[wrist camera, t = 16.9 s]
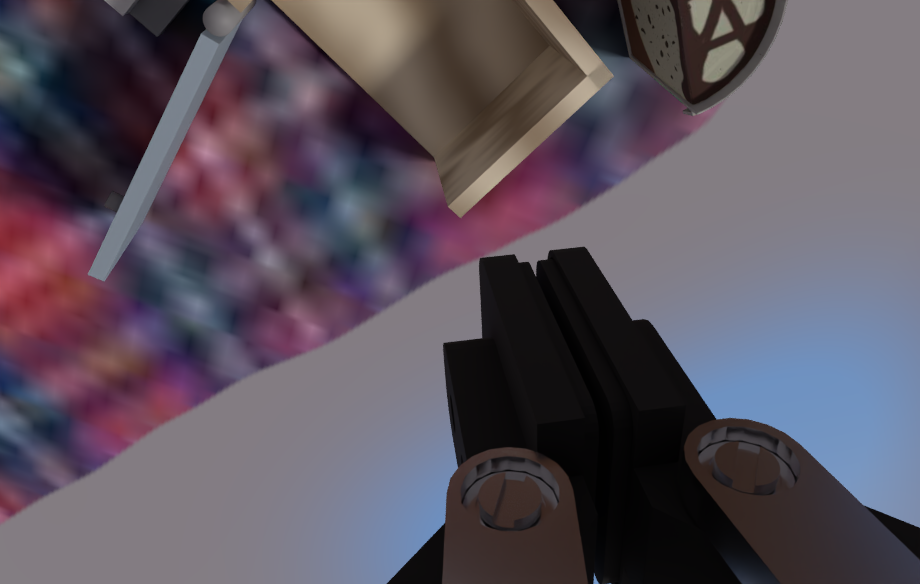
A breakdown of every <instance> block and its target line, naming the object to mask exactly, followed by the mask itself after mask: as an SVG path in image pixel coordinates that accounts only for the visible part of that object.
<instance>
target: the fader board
mask: <svg viewBox="0 0 920 584" xmlns="http://www.w3.org/2000/svg"><path fill="white" fill-rule="evenodd" d="M104 1H105V2H107V3H108V4H109V5H110V6H111V7H112V8H114V9H115V10H116V11H117V12H118V13H119V14H121V15H122V16H124V15H126V14H128V13H130V14H131V15H132V16H133V17H134V18H136V19H137V20H138V21H139V22H140V23H141V24H143V25H144V26H145V27H146V28H147V29H148V30H150V31H151V32H152V33H153V34H154V35H155V36H156V37H158V36H159V35H161V34H162V33H163V32H164V31H165V30H166V28H167V27H168V26H169V25H170V24H171V22H172V21H173V20H174V19H175V17H176V16H177V15H178V14H179V13H180V11H181V10H182V9H183V8H184V7H185V5H186V4H187V3H188V2H189V1H190V0H104Z"/></svg>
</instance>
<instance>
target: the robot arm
mask: <svg viewBox="0 0 920 584" xmlns="http://www.w3.org/2000/svg"><path fill="white" fill-rule="evenodd" d="M479 275H480V295H481V317H482V338H481V339H473V340H466V341H457V342H448V343H444V345H443V352H444V365H445V377H446V389H447V398H448V407H449V414H450V422H451V429H452V436H453V442H454V447H455V453H456V459H457V464H458V469H457V470H456V472H455V473H454V474H453V476H452V477H451V479H450V482H449V486H448V490H447V499H446V518H445V519H446V520H445V524H444V525H443V526H442V527H441V528H440V529H439V530H438V531H437V532H436V533H435V534H434V535H433V536H432V537H431V538H430V539H429V540H428V541H427V542H426V543H425V544H424V545H423V546H422V547H421V549H420V550H419V551H418V552H417V553H416V554H415V555H414V556H413V557H412V558H411V559H410V560H409V561H408V562H407V563H406V564H405V565H404V566H403V567H402V568H401V569H400V570H399V571H398V573H397V574H396V575H395V576H394V577H393V578H392V579H391V580H390V581H389V582H388V583H387V584H593V581H594V574H595V576H596V579H597V581H598V582H599V584H609V583H611V584H920V528H919V527H916V526H914V525H911V524H909V523H906V522H904V521H901V520H899V519H896V518H894V517H891V516H889V515H886V514H884V513H881V512H879V511H876V510H874V509H871V508H869V507H866V506H864V505H862V504H861V503H860V502H859V501H858V500H857V499H856V498H855V497H854V496H853V495H852V494H851V493H850V492H849V491H848V490H847V489H846V488H845V487H844V486H843V485H842V484H841V483H840V482H839V481H838V480H837V479H835V477H833V476H832V475H831V474H830V473H829V472H828V471H827V470H826V469H825V468H824V467H823V466H822V465H821V464H820V463H819V462H818V461H817V460H816V459H815V458H814V457H813V456H812V455H811V454H810V453H808V451H807V450H806V449H804V448H803V447H802V446H801V445H800V444H799V443H798V442H796V441H795V440H794V439H792V438H791V437H790V436H788V435H787V434H786V433H784V432H782V431H779V430H778V429H775V428H773V427H771V426H769V425H767V424H763V423H759V422H756V421H752V420H748V419H736V418H726V419H716V418H715V416H714V415H713V413H712V412H711V410H710V409H709V408H708V406H707V405H706V404H705V402H704V401H703V399H702V397H701V396H700V394H699V393H698V391H697V390H696V389H695V387H694V385H693V384H692V382H691V381H690V379H689V378H688V377H687V375H686V374H685V372H684V371H683V369H682V368H681V366H680V365H679V363H678V362H677V360H676V359H675V357H674V356H673V354H672V353H671V351H670V350H669V349H668V347H667V346H666V344H665V343H664V341H663V340H662V338H661V337H660V335H659V334H658V332H657V331H656V329H655V328H654V327H653V325H652V324H651V323H650V322H649V321H648V320H644V319H642V320H633V321H632V319H631V318H630V316H629V314H628V313H627V311H626V310H625V308H624V307H623V305H622V303H621V302H620V300H619V299H618V297H617V296H616V294H615V293H614V291H613V289H612V288H611V286H610V285H609V283H608V281H607V280H606V278H605V277H604V275H603V274H602V272H601V270H600V269H599V267H598V266H597V264H596V263H595V261H594V259H593V258H592V256H591V255H590V253H589V252H588V250H587V249H586V248H585V247H577V248H568V249H560V250H550V251H549V254H548V260H541V261H538V262H537V269H536V276H535V274H534V272H533V270H532V267H531V265H530V263H529V262H522V263H518V260H517V258H516V256H515V255H514V254H513V255H504V256H495V257H485V258H480V261H479Z"/></svg>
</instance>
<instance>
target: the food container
mask: <svg viewBox="0 0 920 584" xmlns="http://www.w3.org/2000/svg"><path fill="white" fill-rule="evenodd" d="M617 2H618V6H619V11H620V16H621V20H622V25H623V30H624V34H625V39H626V44H627V48H628V53H629V58H630V59H632V60H633V61H634V62H635V63H636V64H637V65H638V66H640V67H641V68H642V69H643V70H644V71H645V72H647V73H648V74H649V75H650V76H651V77H652V78H654V79H655V80H656V81H657V82H658V83H659V84H661V85H662V86H663V87H664V88H665V89H666V90H668V91H669V92H670V93H671V94H672V95H673V96H675V97H676V98H677V99H678V100H679V101H680V102H682V103H683V104H684V105H685V106H686V107H687V109H685V110H683V114H687V115H691V116H694V115H696V114H697V115H698V114H700V113H702V112H704V111H706V110H708V109H710V108H712V107H714V106H716V105H717V104H719V103H720V102H722V101H723V100H725V99H726V98H728V97H729V96H730V95H731V94H733V93H734V92H735V91H736V90H737V89H739V88H740V87H741V86H742V85H743V84H744V83H745V82H746V81H747V80H748V78H749V77H750V76H751V75H752V74H753V73H754V72H755V71H756V69H757V68H758V66H759V65H760V63H761V62H762V61H763V60H764V58H765V57H766V55H767V53H768V51H769V50H770V48H771V46H772V44H773V42H774V41H775V39H776V36H777V34H778V31H779V29H780V26H781V24H782V21H783V17H784V14H785V9H786V6H787V2H788V0H617Z"/></svg>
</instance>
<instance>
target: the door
mask: <svg viewBox="0 0 920 584" xmlns="http://www.w3.org/2000/svg"><path fill="white" fill-rule="evenodd" d="M255 4H256V0H253V1H252V2H251V3H250V4H249V5H248V6H247V7H246V8H245V9H244V10H243V11H242V12H241V13H240V12H239V11H238V10H237V9H236V8H235V7H234V6H233V5H232V4H231V3H230V2H229V1H228V0H217V1H216V2H214V3H213V4H212V5H211V6H209V7H208V8H207V9H206V10H205V12H204V14H203V23H204V26H205V28H206V30H205V31H203V32H202V33H201V35H200V37H199V39H198V41H197V43H196V46H195V48H194V50H193V52H192V54H191V56H190V58H189V60H188V63H187V65H186V67H185V69H184V71H183V73H182V75H181V77H180V80H179V82H178V84H177V86H176V88H175V90H174V92H173V94H172V97H171V99H170V101H169V103H168V105H167V107H166V109H165V111H164V114H163V116H162V118H161V120H160V122H159V124H158V126H157V128H156V131H155V133H154V135H153V137H152V139H151V141H150V143H149V146H148V148H147V150H146V152H145V154H144V156H143V158H142V160H141V163H140V165H139V167H138V169H137V171H136V173H135V175H134V177H133V180H132V182H131V184H130V186H129V188H128V190H127V192H126V194H125V197H124V196H122V195H120V194H118V193H116V192H114V191H112V192H111V194H110V195H109V197H108V199H107V201H106V203H105V206H104V207H106V208H109V209H111V210H113V211H115V212H117V214H116V216H115V218H114V220H113V222H112V224H111V226H110V228H109V231H108V233H107V235H106V237H105V239H104V241H103V243H102V245H101V248H100V250H99V252H98V254H97V256H96V258H95V260H94V262H93V265H92V267H91V269H90V271H89V273H88V275H90V276H92V277H95V278H97V279H99V280H102V281H105V280H106V278H107V277H108V275H109V274H110V272H111V271H112V269H113V268H114V266H115V264H116V263H117V261H118V260H119V258H120V257H121V255H122V254H123V252H124V251H125V249H126V248H127V246H128V244H129V243H130V241H131V240H132V238H133V237H134V235H135V234H136V232H137V231H138V229H139V228H140V226H141V224H142V223H143V221H144V219H145V217H146V215H147V213H148V211H149V209H150V207H151V205H152V203H153V201H154V199H155V196H156V194H157V192H158V190H159V188H160V186H161V184H162V182H163V180H164V178H165V176H166V174H167V172H168V170H169V168H170V166H171V164H172V162H173V160H174V158H175V156H176V154H177V152H178V150H179V148H180V145H181V143H182V141H183V139H184V137H185V135H186V133H187V131H188V129H189V127H190V125H191V123H192V121H193V119H194V117H195V115H196V113H197V111H198V109H199V107H200V105H201V103H202V101H203V99H204V96H205V94H206V92H207V90H208V88H209V86H210V84H211V82H212V80H213V78H214V76H215V74H216V72H217V70H218V68H219V66H220V64H221V62H222V60H223V58H224V56H225V54H226V52H227V50H228V48H229V45H230V43H231V41H232V39H233V37H234V35H235V33H236V31H237V29H238V27H239V25H240V23H241V21H242V19H243V18H244V17H245V16H246V15H247V13H248V12H249V11H250V10H251V9H252V8H253V7H254V5H255Z"/></svg>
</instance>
